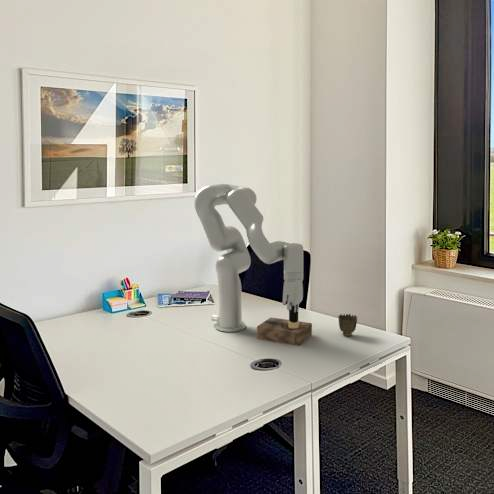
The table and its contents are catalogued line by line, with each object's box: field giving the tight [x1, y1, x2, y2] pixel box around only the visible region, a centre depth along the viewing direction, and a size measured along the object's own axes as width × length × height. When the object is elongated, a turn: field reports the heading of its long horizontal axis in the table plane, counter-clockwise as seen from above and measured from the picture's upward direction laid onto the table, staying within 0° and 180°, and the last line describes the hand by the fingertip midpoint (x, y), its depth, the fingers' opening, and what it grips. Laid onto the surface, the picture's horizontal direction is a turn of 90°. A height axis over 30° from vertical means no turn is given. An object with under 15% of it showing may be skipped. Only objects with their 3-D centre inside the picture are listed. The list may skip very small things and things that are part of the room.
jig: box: [256, 317, 313, 346], centre depth 222 cm, size 18×13×6 cm
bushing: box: [287, 319, 299, 328], centre depth 220 cm, size 4×4×7 cm
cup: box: [337, 313, 358, 338], centre depth 222 cm, size 8×7×8 cm
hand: (293, 321), depth 219 cm, fingers closed
